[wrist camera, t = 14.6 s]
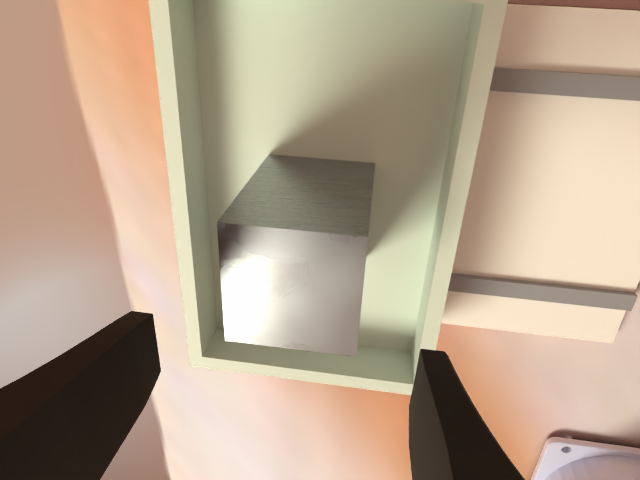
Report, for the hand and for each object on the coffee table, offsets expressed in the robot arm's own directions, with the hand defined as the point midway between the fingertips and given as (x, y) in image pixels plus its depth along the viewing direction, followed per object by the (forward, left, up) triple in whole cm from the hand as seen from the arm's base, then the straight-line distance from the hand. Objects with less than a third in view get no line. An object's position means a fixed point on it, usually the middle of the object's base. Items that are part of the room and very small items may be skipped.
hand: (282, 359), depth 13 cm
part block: (0, -1, -7) cm, 7 cm away
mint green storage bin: (0, -2, -9) cm, 9 cm away
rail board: (-4, -2, -10) cm, 11 cm away
